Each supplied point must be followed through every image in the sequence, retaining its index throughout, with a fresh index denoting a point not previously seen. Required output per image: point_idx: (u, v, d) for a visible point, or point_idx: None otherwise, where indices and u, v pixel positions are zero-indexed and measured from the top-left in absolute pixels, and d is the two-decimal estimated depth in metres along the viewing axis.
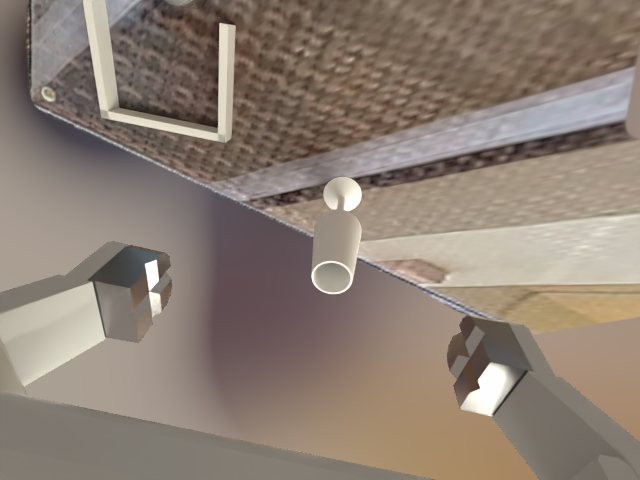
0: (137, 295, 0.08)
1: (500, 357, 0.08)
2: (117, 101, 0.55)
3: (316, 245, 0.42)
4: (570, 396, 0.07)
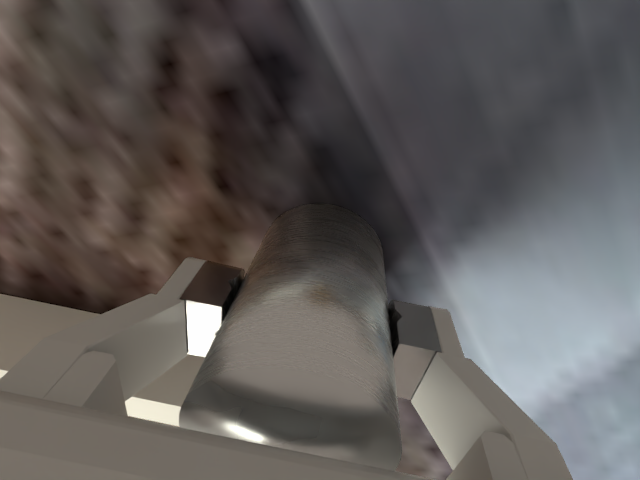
0: (224, 313, 0.08)
1: (411, 339, 0.08)
2: None
3: None
4: (472, 376, 0.07)
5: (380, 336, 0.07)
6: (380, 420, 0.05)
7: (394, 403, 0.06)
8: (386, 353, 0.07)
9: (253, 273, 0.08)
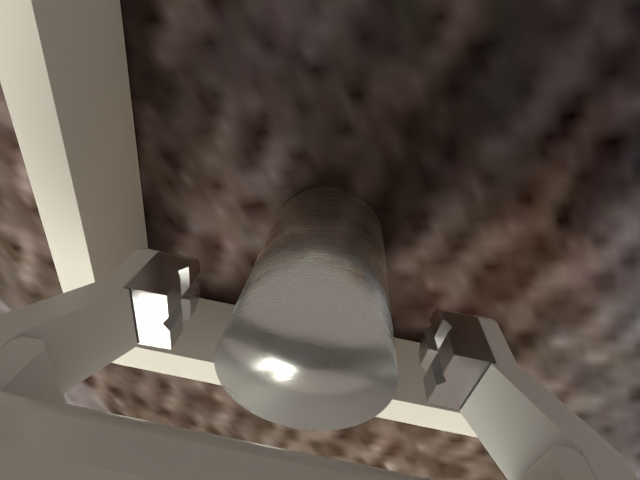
0: (171, 302, 0.08)
1: (465, 350, 0.08)
2: None
3: None
4: (531, 388, 0.07)
5: (380, 291, 0.08)
6: (380, 351, 0.07)
7: (391, 342, 0.07)
8: (385, 305, 0.08)
9: (270, 243, 0.09)
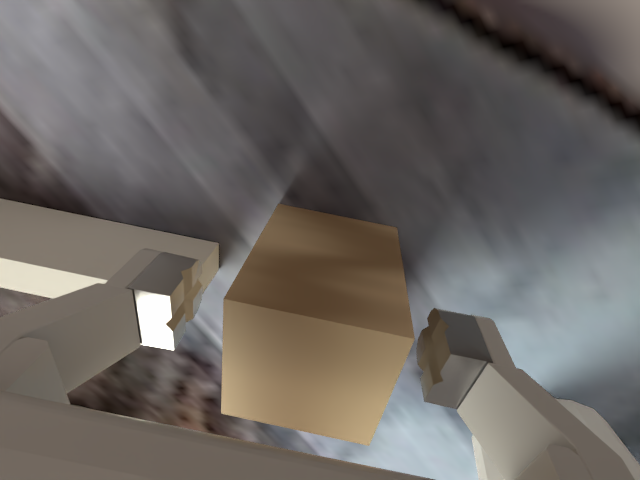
0: (174, 303, 0.08)
1: (461, 349, 0.08)
2: None
3: None
4: (526, 387, 0.07)
5: None
6: None
7: None
8: None
9: None
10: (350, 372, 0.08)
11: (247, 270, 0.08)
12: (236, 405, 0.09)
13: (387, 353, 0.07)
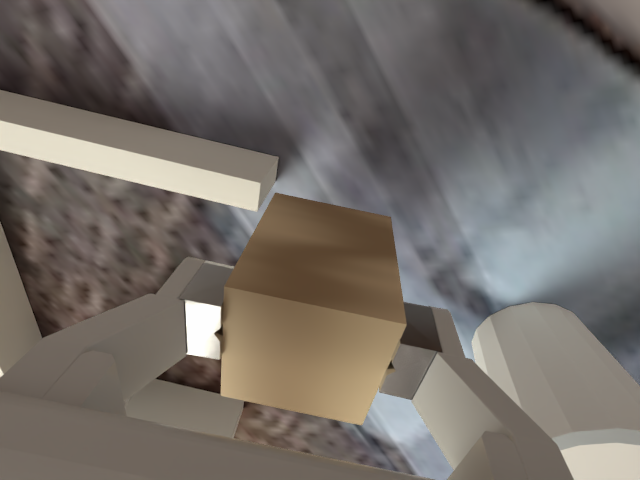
0: None
1: (412, 339, 0.08)
2: None
3: None
4: (473, 376, 0.07)
5: None
6: None
7: None
8: None
9: None
10: (345, 356, 0.08)
11: (246, 258, 0.08)
12: (234, 388, 0.09)
13: (380, 338, 0.08)
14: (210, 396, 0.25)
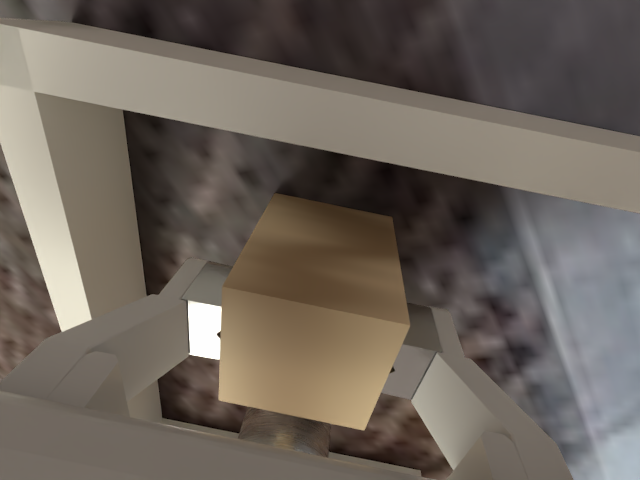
0: None
1: (412, 339, 0.08)
2: None
3: None
4: (473, 376, 0.07)
5: None
6: None
7: None
8: None
9: (246, 438, 0.14)
10: (347, 359, 0.08)
11: (245, 258, 0.08)
12: (233, 392, 0.09)
13: (383, 340, 0.07)
14: None
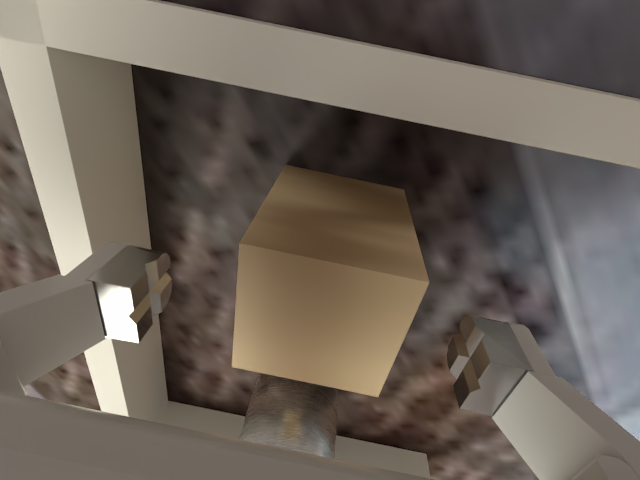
0: (137, 295, 0.08)
1: (500, 357, 0.08)
2: None
3: None
4: (569, 396, 0.07)
5: None
6: None
7: None
8: None
9: (254, 415, 0.14)
10: (363, 319, 0.08)
11: (260, 219, 0.08)
12: (247, 357, 0.09)
13: (401, 298, 0.07)
14: (384, 452, 0.19)
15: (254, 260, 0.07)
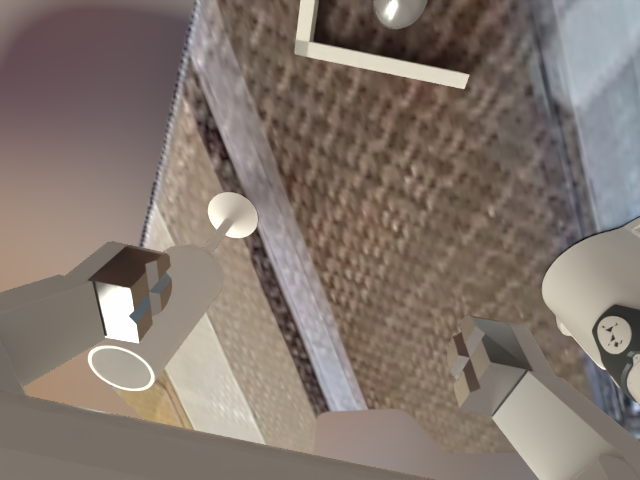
0: (137, 295, 0.08)
1: (500, 357, 0.08)
2: None
3: None
4: (569, 396, 0.07)
5: None
6: None
7: None
8: None
9: None
10: None
11: None
12: None
13: None
14: (437, 67, 0.33)
15: None
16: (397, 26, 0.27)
